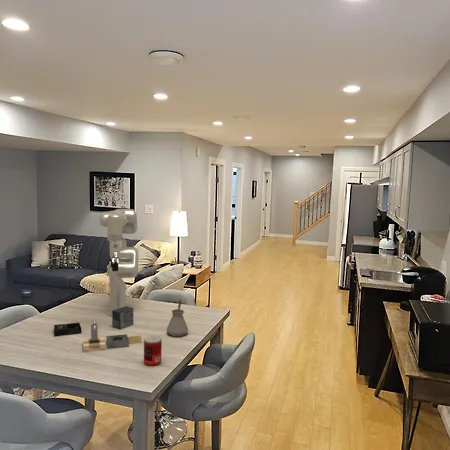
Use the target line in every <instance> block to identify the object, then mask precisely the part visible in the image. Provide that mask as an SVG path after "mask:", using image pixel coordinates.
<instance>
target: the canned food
mask: <svg viewBox="0 0 450 450" xmlns="http://www.w3.org/2000/svg"><path fill="white" fill-rule="evenodd" d="M143 339H144V340H143V363H144V365H146V366H149V367H156V366H158V365H160V364H161V363H162V348H163V347H162V344H163V343H162V341H163V340H162V339H163V338H162V337H161V336H159V335H148V336H146V337H144V338H143Z"/></svg>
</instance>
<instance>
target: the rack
mask: <svg viewBox="0 0 450 450" xmlns="http://www.w3.org/2000/svg"><path fill="white" fill-rule="evenodd" d="M82 340H83V341H82V353H90V352H91V353H93V352H100V351H106V347H107V343H106V338H105V336H101V337H98V343H94V344H91V337H88V338H83V339H82Z"/></svg>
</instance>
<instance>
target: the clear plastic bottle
mask: <svg viewBox="0 0 450 450" xmlns="http://www.w3.org/2000/svg"><path fill="white" fill-rule="evenodd" d="M98 327H99V326H98V324H97V321H96V320H92V324H91V325H90V338H91V344H94V343H98V338H99V337H98V333H99V332H98V331H99V330H98V329H99V328H98Z"/></svg>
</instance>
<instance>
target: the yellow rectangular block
mask: <svg viewBox="0 0 450 450" xmlns="http://www.w3.org/2000/svg"><path fill="white" fill-rule="evenodd" d="M128 340H129V345H132V344H133V345H134V344H141V343H142V336H141V335H135V336H128Z"/></svg>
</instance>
